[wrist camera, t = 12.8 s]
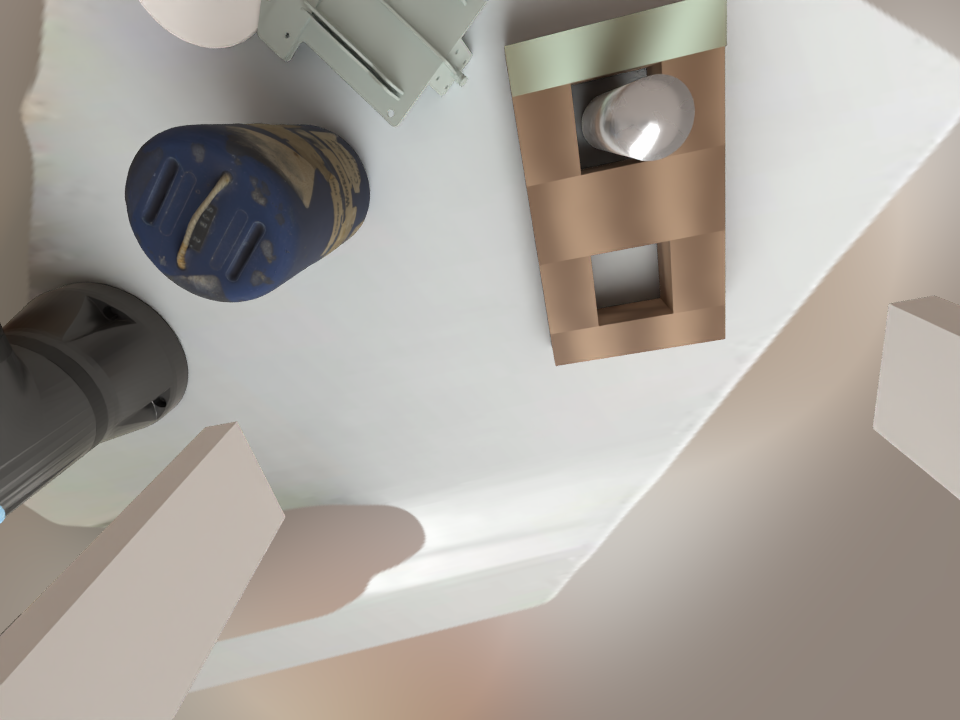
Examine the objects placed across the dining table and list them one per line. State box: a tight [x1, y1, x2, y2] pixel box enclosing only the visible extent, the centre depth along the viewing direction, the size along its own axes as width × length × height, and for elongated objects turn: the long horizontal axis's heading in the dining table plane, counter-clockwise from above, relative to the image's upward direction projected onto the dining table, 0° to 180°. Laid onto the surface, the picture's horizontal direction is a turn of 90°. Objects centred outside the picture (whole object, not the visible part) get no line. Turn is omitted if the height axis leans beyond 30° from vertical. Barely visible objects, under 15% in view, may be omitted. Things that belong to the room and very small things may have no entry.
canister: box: [125, 123, 370, 302], centre depth 33 cm, size 10×10×18 cm
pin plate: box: [504, 0, 727, 366], centre depth 38 cm, size 14×24×4 cm, turn 12°
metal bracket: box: [257, 0, 488, 127], centre depth 34 cm, size 14×6×15 cm
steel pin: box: [581, 74, 695, 161], centre depth 32 cm, size 4×4×14 cm
